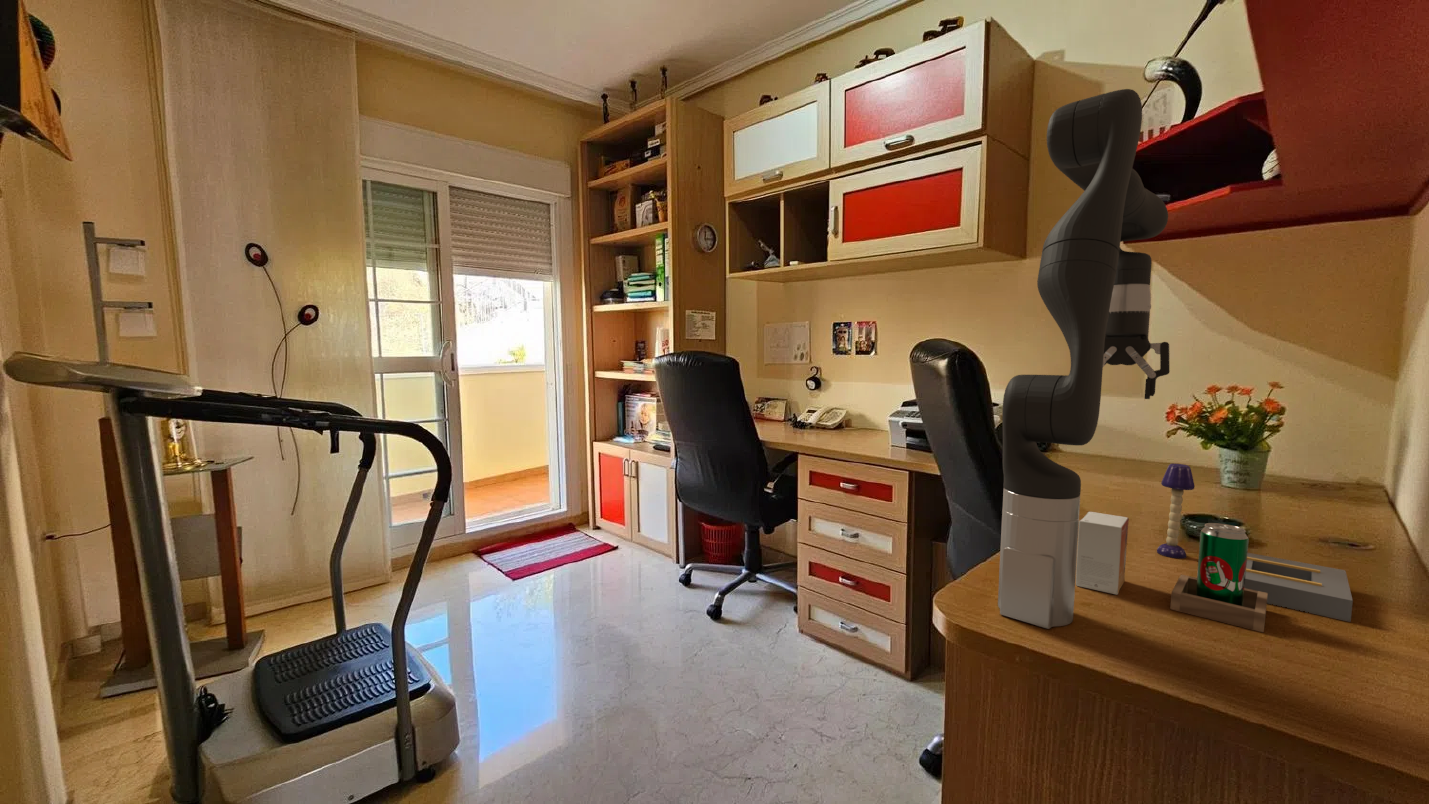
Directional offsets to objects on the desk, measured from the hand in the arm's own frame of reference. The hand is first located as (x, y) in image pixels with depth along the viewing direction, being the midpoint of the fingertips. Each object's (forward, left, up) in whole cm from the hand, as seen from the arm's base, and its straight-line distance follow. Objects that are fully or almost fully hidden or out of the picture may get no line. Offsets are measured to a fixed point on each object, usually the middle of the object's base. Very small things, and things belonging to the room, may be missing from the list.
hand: (1119, 397), depth 108 cm
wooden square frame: (-23, -17, -28) cm, 40 cm away
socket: (-7, -23, -28) cm, 37 cm away
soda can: (-23, -17, -29) cm, 41 cm away
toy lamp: (+1, -9, -29) cm, 30 cm away
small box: (-24, -3, -29) cm, 38 cm away
